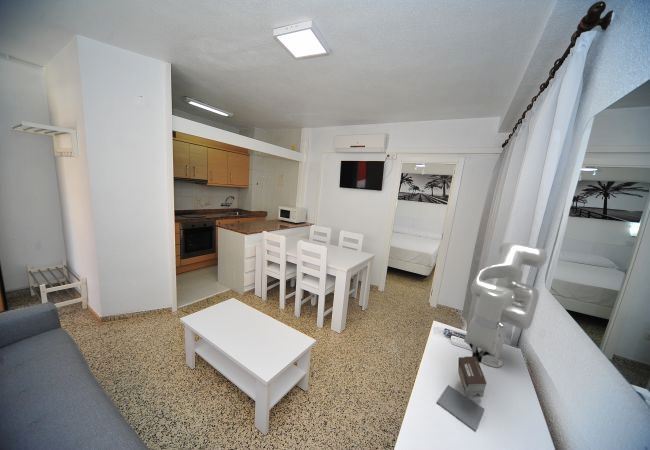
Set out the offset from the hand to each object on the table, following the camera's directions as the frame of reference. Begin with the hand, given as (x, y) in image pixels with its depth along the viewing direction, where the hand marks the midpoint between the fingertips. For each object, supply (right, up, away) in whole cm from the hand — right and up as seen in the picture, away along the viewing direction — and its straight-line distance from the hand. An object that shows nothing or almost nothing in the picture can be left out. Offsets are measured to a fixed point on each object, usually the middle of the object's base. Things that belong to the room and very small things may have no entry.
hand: (475, 361), depth 90 cm
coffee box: (-1, -11, +2) cm, 11 cm away
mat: (-9, -14, -5) cm, 18 cm away
